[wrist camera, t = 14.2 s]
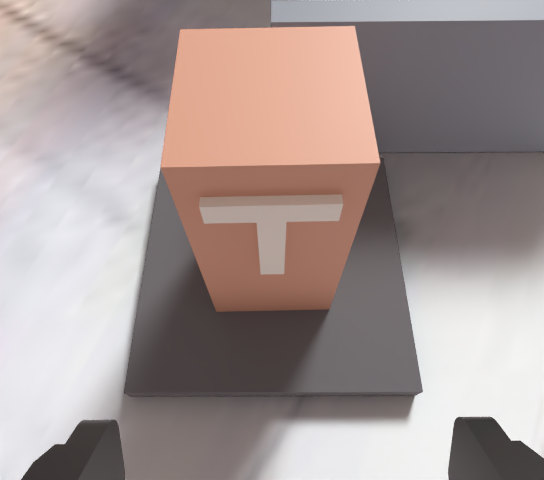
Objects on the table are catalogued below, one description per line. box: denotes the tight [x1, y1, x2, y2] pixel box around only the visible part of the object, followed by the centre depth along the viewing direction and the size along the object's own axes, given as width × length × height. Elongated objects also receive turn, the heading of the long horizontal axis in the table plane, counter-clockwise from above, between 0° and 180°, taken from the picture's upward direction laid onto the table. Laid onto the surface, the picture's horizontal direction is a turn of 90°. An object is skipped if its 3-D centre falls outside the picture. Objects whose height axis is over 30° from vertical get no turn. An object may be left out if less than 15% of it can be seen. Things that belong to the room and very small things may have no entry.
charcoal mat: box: [124, 158, 423, 396], centre depth 20 cm, size 12×12×1 cm
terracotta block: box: [161, 26, 380, 312], centre depth 15 cm, size 5×5×10 cm
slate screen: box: [271, 0, 544, 153], centre depth 20 cm, size 17×2×8 cm, turn 90°
